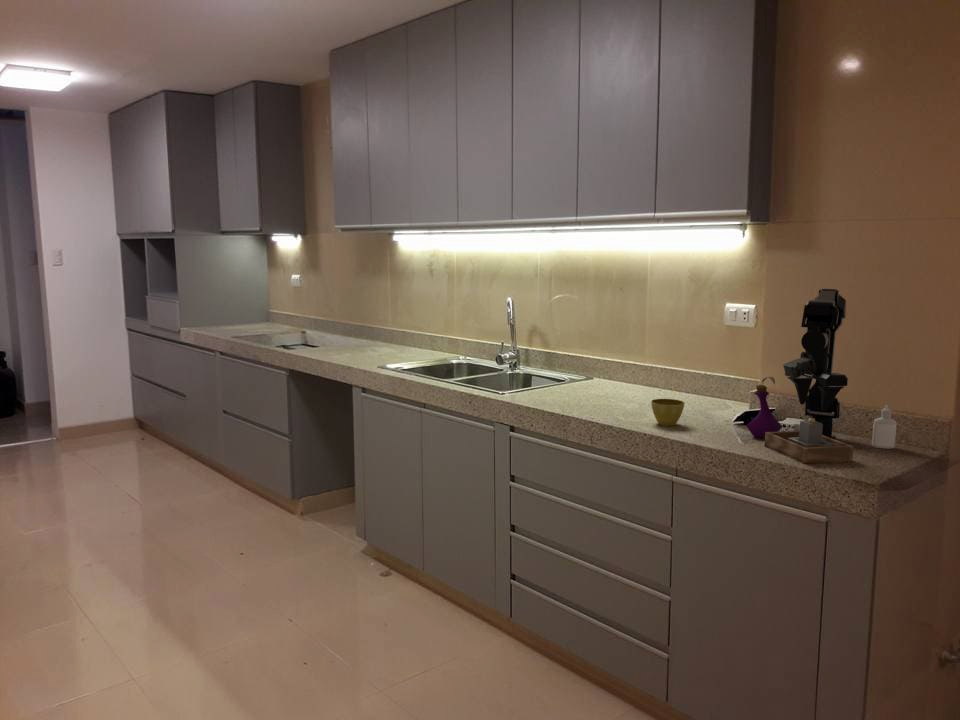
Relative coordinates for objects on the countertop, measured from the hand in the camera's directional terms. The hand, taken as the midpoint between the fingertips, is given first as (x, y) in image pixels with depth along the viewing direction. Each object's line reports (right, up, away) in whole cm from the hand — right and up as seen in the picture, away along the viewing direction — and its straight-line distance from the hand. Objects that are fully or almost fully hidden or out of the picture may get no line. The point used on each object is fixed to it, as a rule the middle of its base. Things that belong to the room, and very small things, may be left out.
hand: (812, 407), depth 205 cm
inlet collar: (0, -13, +2) cm, 13 cm away
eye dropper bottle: (+24, -12, +11) cm, 29 cm away
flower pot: (-30, -8, +36) cm, 48 cm away
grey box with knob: (0, -12, +2) cm, 12 cm away
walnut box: (0, -13, +3) cm, 13 cm away
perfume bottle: (-5, -10, +21) cm, 24 cm away
